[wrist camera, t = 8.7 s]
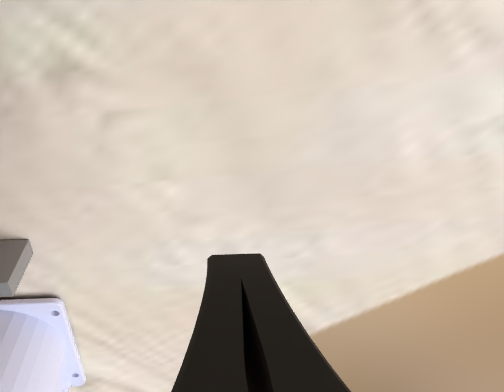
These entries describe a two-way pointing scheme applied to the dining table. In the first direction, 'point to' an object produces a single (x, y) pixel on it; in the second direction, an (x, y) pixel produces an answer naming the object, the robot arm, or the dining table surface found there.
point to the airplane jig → (13, 264)
